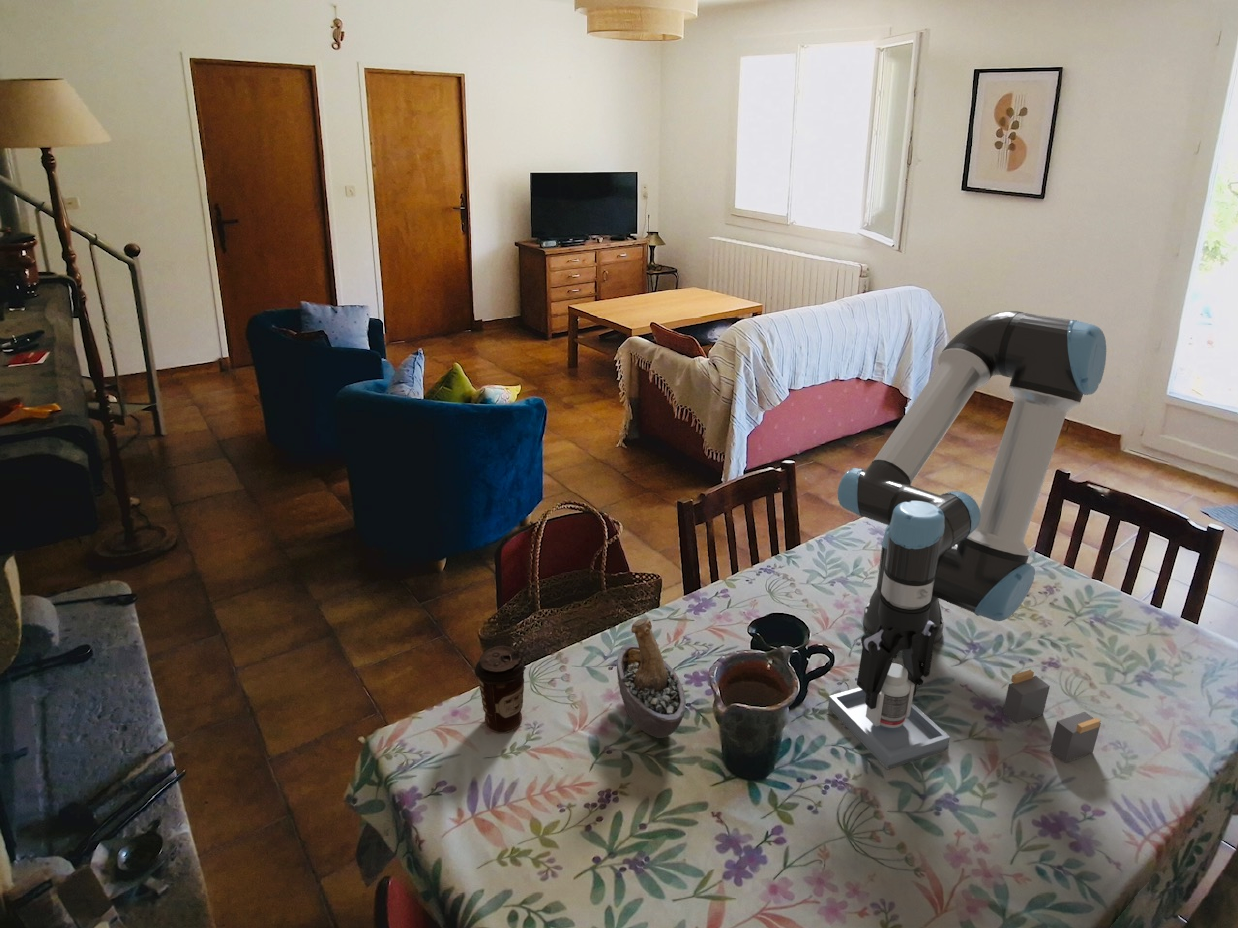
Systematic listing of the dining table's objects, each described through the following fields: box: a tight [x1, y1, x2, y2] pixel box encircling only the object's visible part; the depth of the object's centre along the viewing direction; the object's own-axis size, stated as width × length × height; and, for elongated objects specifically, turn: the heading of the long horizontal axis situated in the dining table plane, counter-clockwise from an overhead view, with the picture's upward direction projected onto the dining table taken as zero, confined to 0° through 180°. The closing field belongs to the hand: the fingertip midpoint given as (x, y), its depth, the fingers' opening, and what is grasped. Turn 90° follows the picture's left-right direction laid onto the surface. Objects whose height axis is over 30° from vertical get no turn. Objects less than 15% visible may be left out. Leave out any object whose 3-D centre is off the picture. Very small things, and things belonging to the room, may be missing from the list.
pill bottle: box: [880, 662, 910, 728], centre depth 139 cm, size 5×5×10 cm
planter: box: [616, 618, 687, 739], centre depth 140 cm, size 15×17×20 cm
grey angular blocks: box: [1002, 669, 1102, 764], centre depth 139 cm, size 14×6×7 cm, turn 22°
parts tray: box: [827, 686, 951, 771], centre depth 141 cm, size 16×12×2 cm
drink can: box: [474, 645, 527, 734], centre depth 141 cm, size 9×8×13 cm
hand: (887, 716), depth 141 cm, fingers closed on pill bottle, 5 cm apart
